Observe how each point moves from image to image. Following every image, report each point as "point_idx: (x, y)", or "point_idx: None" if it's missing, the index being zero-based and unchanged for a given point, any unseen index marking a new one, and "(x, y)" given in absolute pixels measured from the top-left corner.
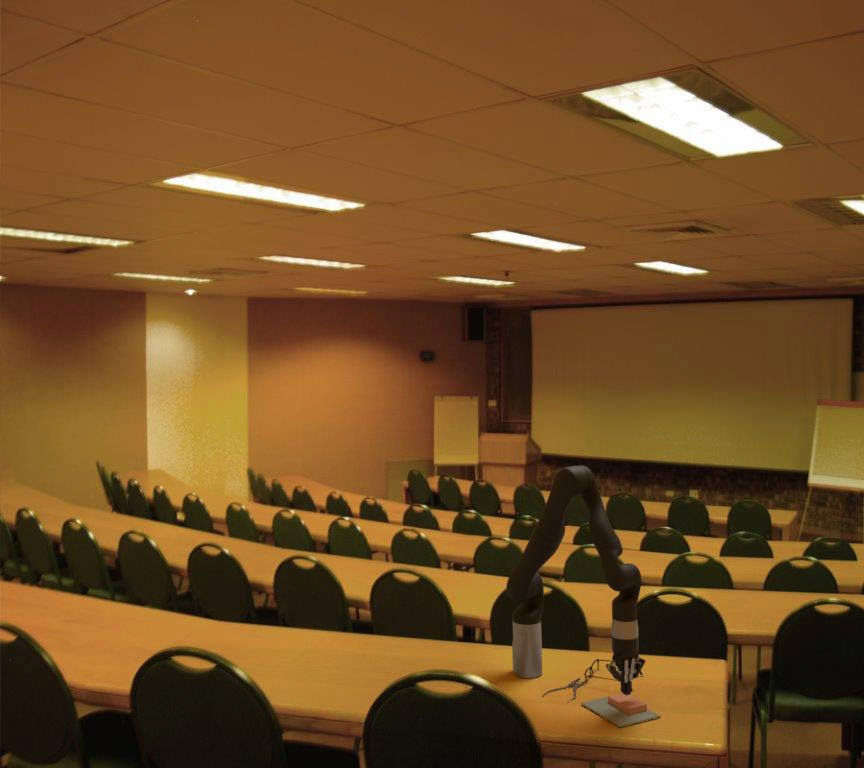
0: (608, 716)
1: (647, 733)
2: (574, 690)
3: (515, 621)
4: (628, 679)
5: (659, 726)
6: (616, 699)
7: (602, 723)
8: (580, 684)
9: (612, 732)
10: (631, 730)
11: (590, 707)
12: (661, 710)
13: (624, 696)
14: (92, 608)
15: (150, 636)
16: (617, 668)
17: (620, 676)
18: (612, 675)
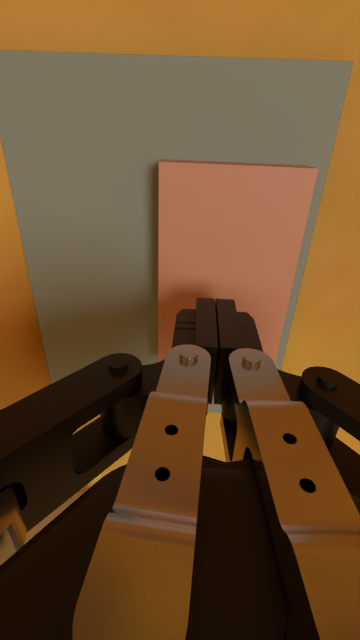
0: (55, 314)
1: (126, 457)
2: None
3: None
4: (222, 413)
5: (203, 447)
6: (176, 242)
7: (8, 330)
8: None
9: (11, 401)
10: (88, 422)
11: (15, 164)
12: (342, 366)
13: (258, 232)
14: None
15: None
16: (142, 418)
17: (106, 459)
18: (57, 384)
